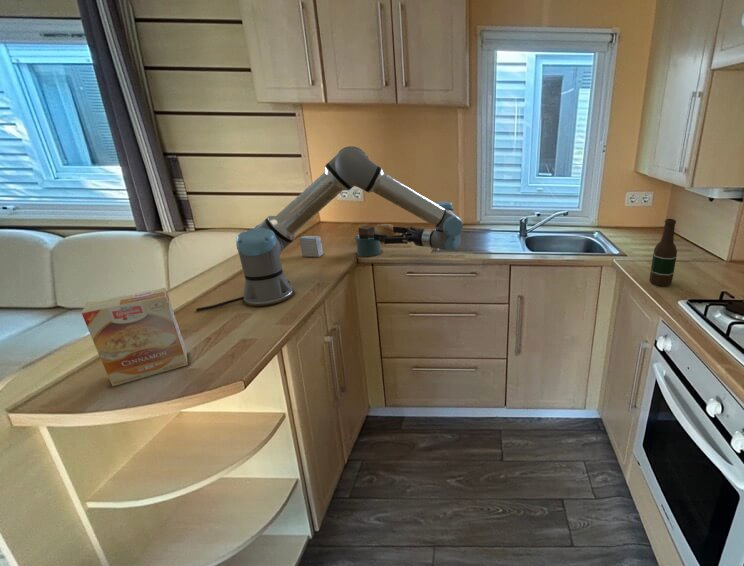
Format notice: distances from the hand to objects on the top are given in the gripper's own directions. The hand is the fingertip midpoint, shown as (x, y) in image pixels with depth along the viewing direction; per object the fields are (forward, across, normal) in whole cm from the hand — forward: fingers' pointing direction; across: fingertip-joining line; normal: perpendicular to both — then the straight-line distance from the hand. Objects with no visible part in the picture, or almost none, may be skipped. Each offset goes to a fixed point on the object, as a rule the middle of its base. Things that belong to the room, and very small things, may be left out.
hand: (384, 233), depth 179 cm
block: (+10, 0, -3) cm, 10 cm away
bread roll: (+16, +21, -11) cm, 28 cm away
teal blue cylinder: (+10, 0, -10) cm, 14 cm away
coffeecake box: (-1, -97, -10) cm, 97 cm away
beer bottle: (-114, +14, -11) cm, 116 cm away
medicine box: (+31, -13, -10) cm, 36 cm away
